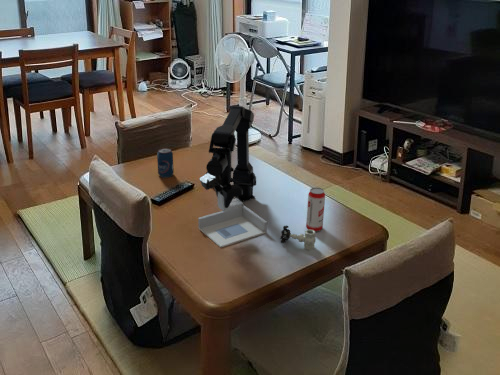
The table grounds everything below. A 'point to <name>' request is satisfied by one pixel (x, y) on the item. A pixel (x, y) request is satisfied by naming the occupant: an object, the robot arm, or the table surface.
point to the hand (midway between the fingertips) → (223, 204)
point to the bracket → (233, 205)
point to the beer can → (315, 209)
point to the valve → (300, 237)
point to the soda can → (165, 162)
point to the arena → (232, 226)
